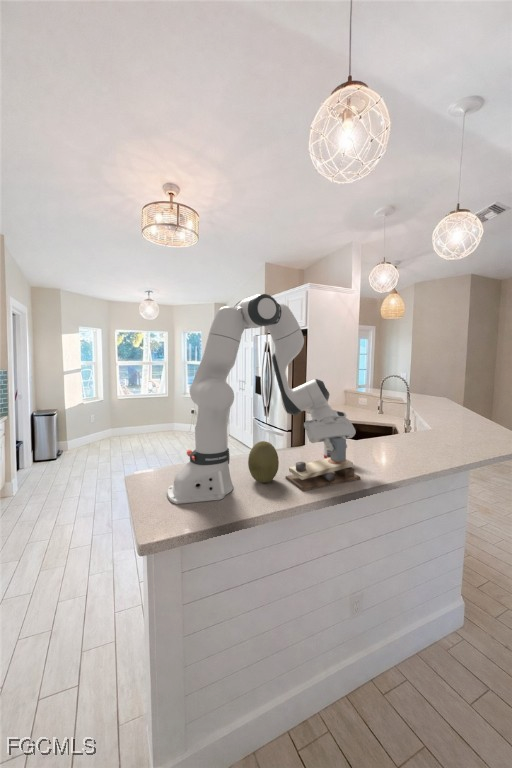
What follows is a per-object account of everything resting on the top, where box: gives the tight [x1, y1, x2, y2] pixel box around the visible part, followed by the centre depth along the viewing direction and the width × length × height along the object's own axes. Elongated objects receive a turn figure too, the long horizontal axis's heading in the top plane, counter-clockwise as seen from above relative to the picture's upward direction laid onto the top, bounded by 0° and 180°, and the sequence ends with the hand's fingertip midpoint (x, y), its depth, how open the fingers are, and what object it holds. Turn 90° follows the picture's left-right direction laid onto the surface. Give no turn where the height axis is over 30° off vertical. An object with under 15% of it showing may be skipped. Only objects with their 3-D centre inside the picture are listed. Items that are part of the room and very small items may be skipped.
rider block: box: [331, 438, 347, 462], centre depth 121 cm, size 4×4×8 cm
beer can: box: [323, 441, 331, 459], centre depth 140 cm, size 6×6×16 cm
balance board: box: [288, 457, 354, 480], centre depth 118 cm, size 22×9×4 cm, turn 112°
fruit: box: [247, 440, 280, 484], centre depth 117 cm, size 11×11×15 cm
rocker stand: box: [285, 466, 361, 492], centre depth 119 cm, size 25×12×4 cm, turn 112°
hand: (339, 449), depth 120 cm, fingers closed on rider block, 4 cm apart
